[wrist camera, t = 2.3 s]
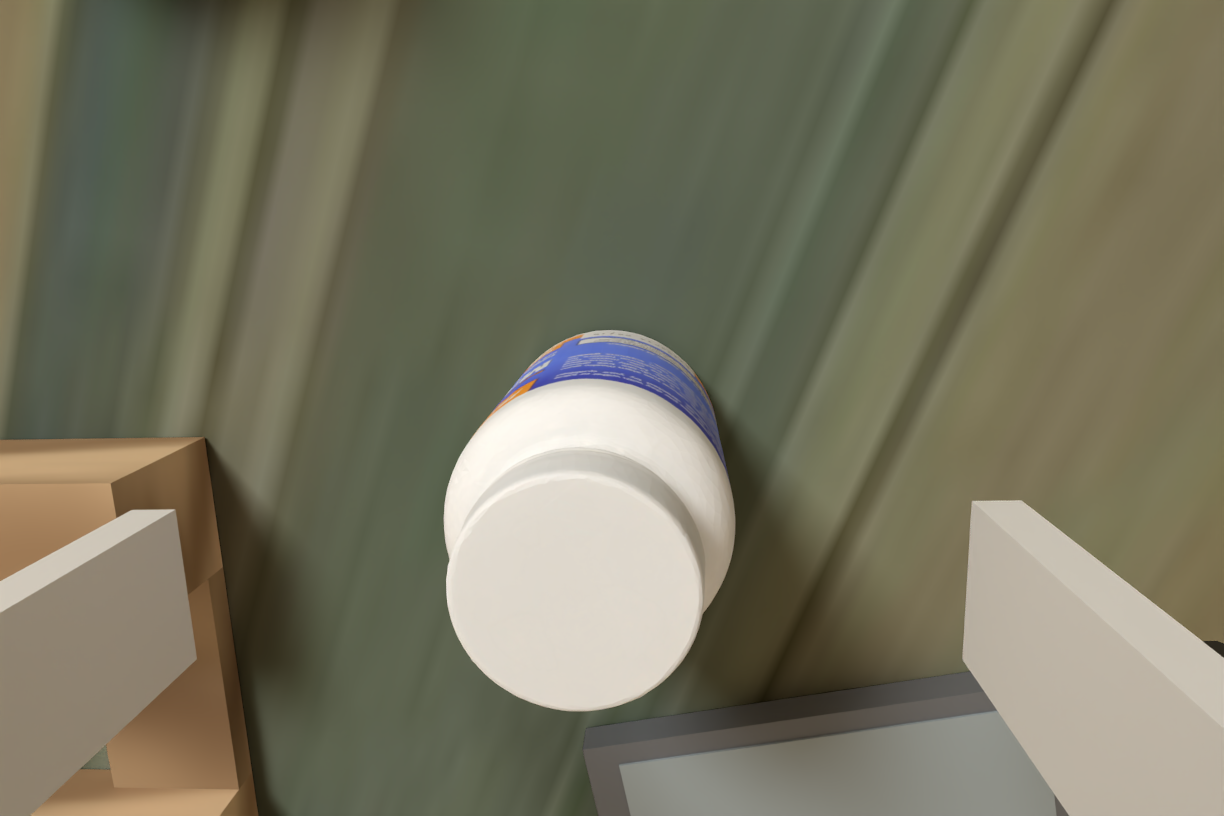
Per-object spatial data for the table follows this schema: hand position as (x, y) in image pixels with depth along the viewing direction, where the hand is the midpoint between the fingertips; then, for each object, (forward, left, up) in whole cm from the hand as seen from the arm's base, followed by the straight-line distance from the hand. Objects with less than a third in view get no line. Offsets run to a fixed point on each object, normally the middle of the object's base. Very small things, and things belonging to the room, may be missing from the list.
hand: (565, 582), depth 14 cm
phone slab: (+11, +6, -9) cm, 15 cm away
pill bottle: (0, 0, -9) cm, 9 cm away
